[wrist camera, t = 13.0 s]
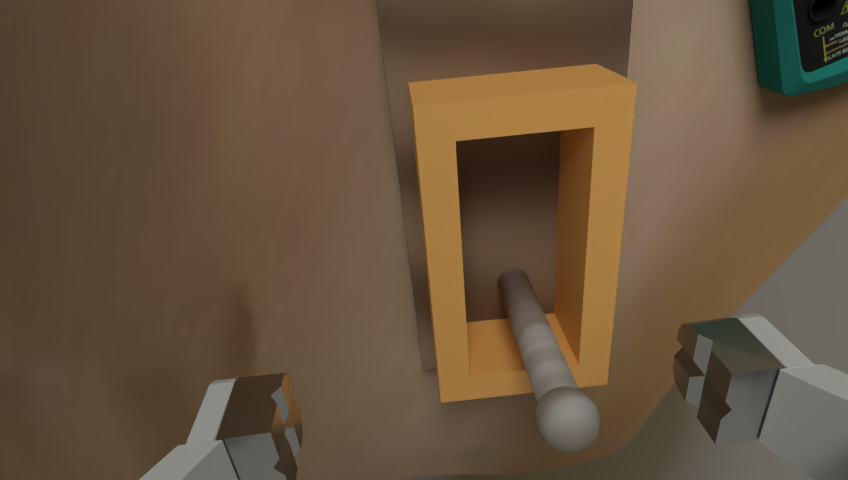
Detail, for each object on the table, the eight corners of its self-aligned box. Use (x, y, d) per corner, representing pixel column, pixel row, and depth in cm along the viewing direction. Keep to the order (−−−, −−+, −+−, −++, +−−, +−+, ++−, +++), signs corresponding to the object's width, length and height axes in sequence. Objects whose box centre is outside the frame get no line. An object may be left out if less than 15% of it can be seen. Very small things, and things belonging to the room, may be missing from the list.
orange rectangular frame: (408, 82, 22) (412, 106, 18) (596, 63, 22) (637, 83, 18) (434, 347, 28) (441, 402, 25) (579, 331, 28) (607, 384, 25)
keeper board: (363, -106, 20) (340, -179, 10) (627, -134, 20) (882, -237, 10) (421, 352, 30) (440, 553, 20) (595, 331, 30) (703, 521, 20)
